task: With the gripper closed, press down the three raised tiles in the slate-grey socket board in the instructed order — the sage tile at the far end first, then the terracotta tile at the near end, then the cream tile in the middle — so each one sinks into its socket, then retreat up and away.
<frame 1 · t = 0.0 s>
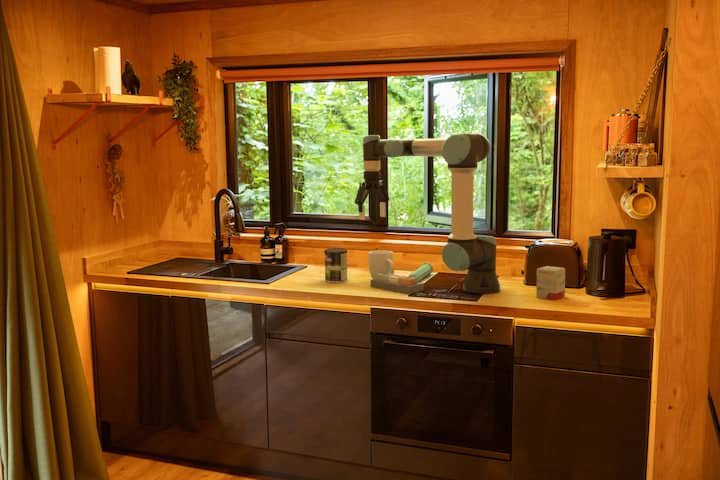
hand: (372, 218, 320), 28 cm above the worktop, fingers open, 13 cm apart
mug: (382, 281, 320), on the worktop, touching socket board
socket board: (396, 288, 305), on the worktop
tile terracotta: (408, 281, 300), point 4 cm above the worktop, slide at 0.0 cm
tile sage: (385, 277, 309), point 4 cm above the worktop, slide at 0.0 cm
tile cream: (396, 279, 305), point 4 cm above the worktop, slide at 0.0 cm
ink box: (550, 297, 285), on the worktop
coffee can: (336, 281, 324), on the worktop
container: (419, 280, 325), on the worktop
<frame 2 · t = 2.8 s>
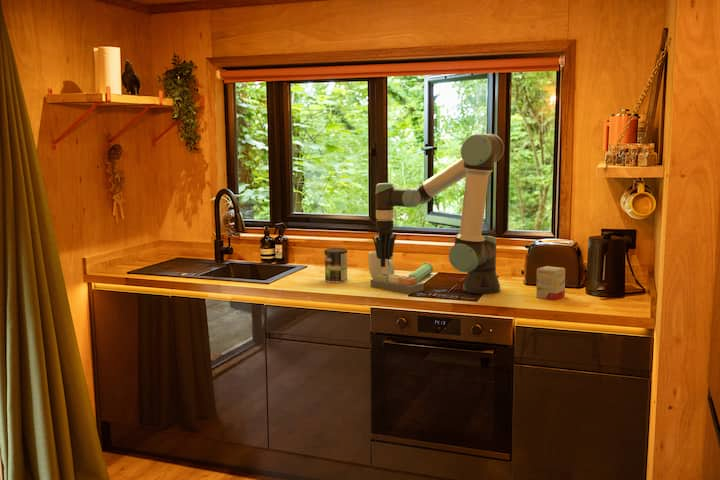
hand: (384, 273, 309), 6 cm above the worktop, fingers closed
tile sage: (385, 278, 309), point 3 cm above the worktop, slide at -0.3 cm, touching gripper
everything else where it was.
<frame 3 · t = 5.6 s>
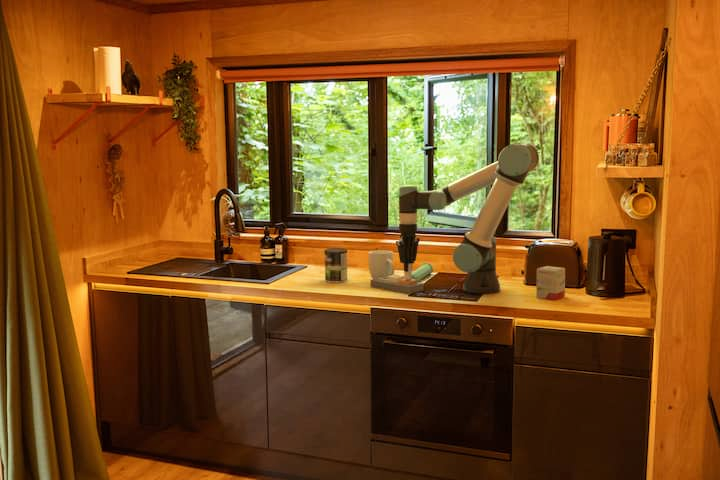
hand: (407, 278, 300), 5 cm above the worktop, fingers closed
tile terracotta: (408, 283, 300), point 3 cm above the worktop, slide at -0.8 cm, touching gripper
tile sage: (385, 282, 309), point 2 cm above the worktop, slide at -1.8 cm
everything else where it was.
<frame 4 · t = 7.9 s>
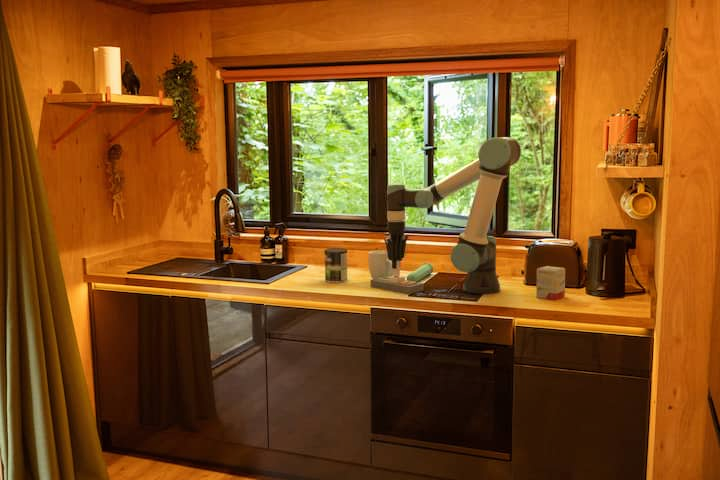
hand: (396, 275, 305), 5 cm above the worktop, fingers closed
tile terracotta: (408, 286, 301), point 2 cm above the worktop, slide at -1.8 cm
tile cream: (396, 280, 305), point 3 cm above the worktop, slide at -0.3 cm, touching gripper
everything else where it was.
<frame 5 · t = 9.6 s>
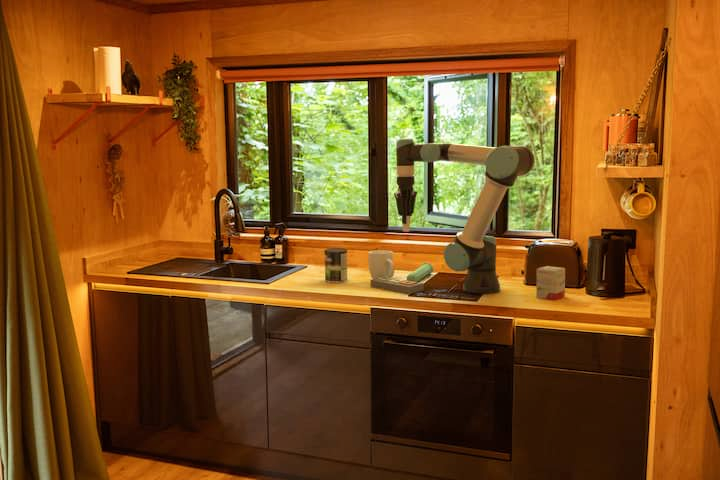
hand: (406, 231, 306), 24 cm above the worktop, fingers closed
tile cream: (396, 284, 305), point 2 cm above the worktop, slide at -1.8 cm
everything else where it was.
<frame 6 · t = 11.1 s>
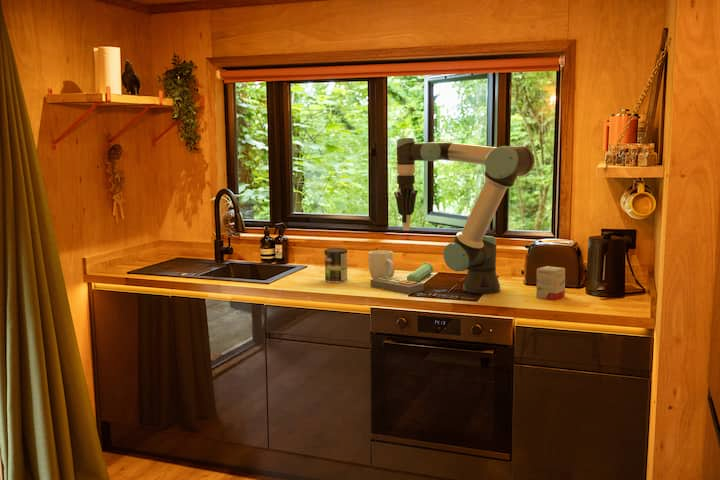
hand: (406, 230, 306), 24 cm above the worktop, fingers closed
nothing on the worktop moved.
at the end: tile sage slide at -1.8 cm; tile terracotta slide at -1.8 cm; tile cream slide at -1.8 cm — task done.
